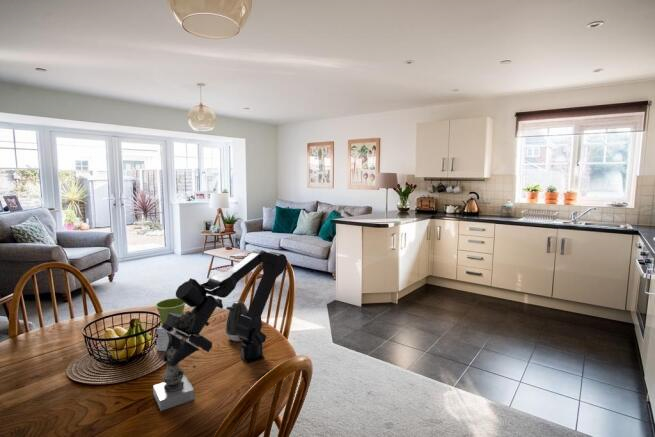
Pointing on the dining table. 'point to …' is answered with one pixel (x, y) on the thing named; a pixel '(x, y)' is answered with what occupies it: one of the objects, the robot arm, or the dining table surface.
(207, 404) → the dining table surface
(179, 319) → the robot arm
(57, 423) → the dining table surface
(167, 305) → the plant pot
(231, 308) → the pump dispenser
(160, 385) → the rectangular block
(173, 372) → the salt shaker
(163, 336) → the medicine box
